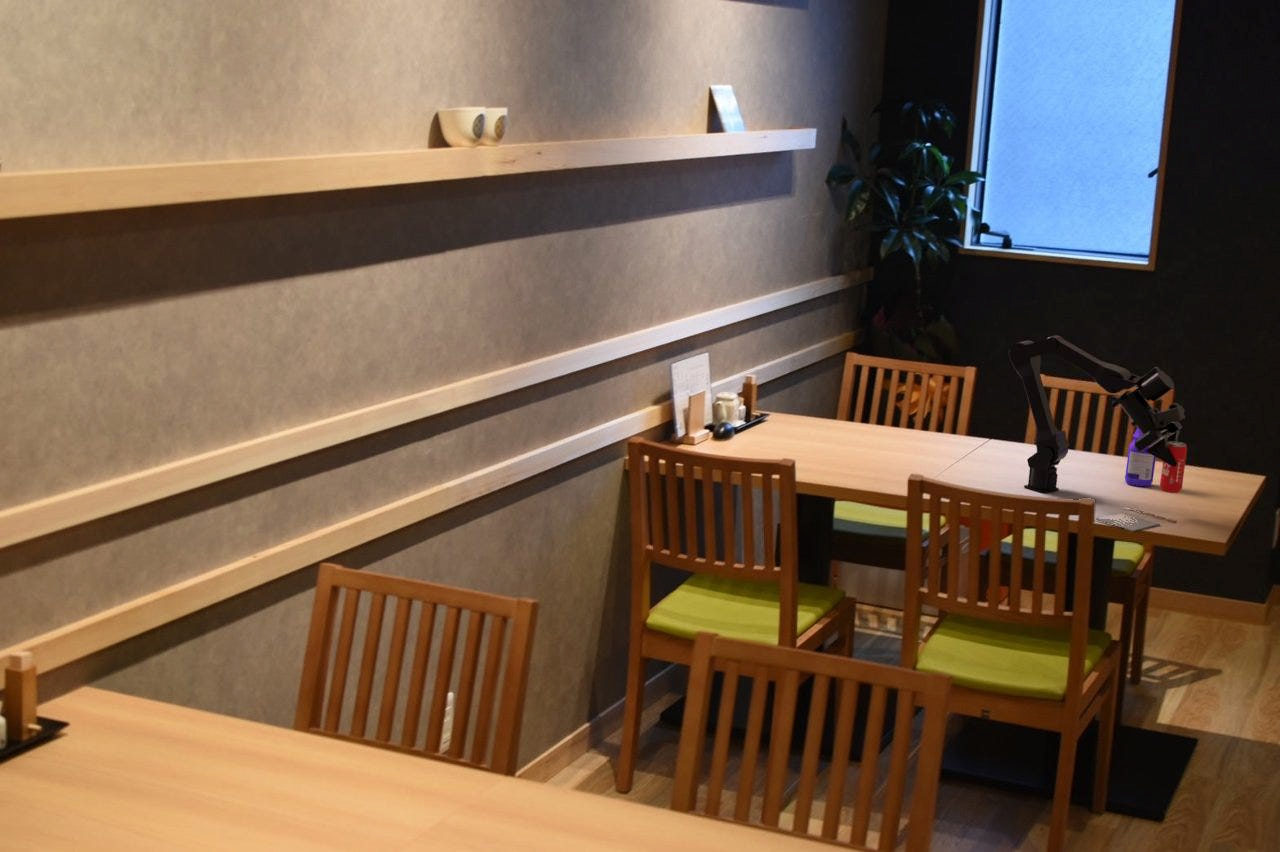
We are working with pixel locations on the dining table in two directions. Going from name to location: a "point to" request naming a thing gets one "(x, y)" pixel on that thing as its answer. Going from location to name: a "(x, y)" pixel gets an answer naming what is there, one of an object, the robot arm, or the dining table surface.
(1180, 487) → the beverage can
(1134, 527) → the mat
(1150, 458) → the bottle
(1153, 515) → the line
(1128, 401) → the robot arm
